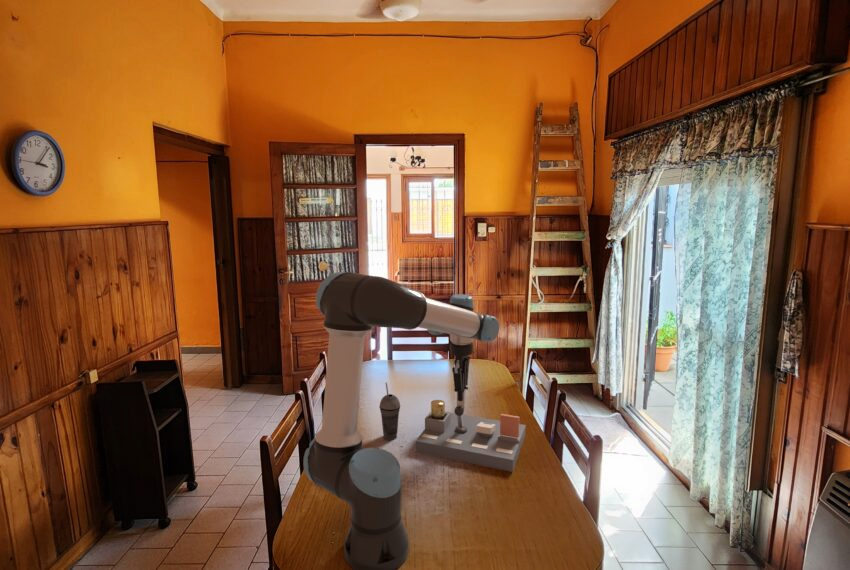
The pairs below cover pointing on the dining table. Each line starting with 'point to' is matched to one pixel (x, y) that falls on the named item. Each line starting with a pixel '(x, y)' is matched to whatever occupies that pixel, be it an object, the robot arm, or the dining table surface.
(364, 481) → the robot arm
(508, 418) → the red square plate
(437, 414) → the push button
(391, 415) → the beverage cup
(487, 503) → the dining table surface
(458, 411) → the toggle lever
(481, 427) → the block
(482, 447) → the console
